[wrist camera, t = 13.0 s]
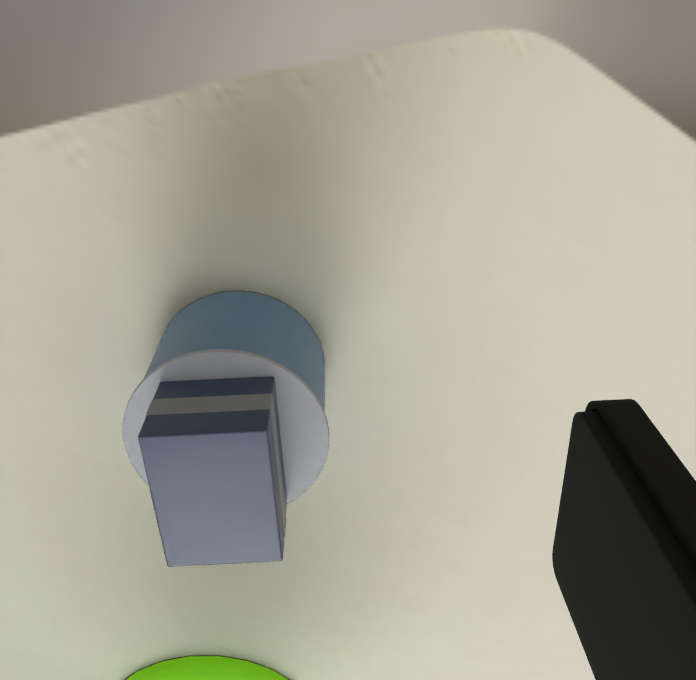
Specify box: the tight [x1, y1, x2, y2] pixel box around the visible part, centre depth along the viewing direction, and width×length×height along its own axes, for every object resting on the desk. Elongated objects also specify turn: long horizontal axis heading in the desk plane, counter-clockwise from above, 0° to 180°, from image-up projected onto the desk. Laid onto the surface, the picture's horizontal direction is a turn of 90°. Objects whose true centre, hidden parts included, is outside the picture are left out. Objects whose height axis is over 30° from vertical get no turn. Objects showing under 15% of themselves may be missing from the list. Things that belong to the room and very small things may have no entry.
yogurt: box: [123, 291, 329, 504], centre depth 34 cm, size 9×9×7 cm
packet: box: [138, 376, 287, 567], centre depth 29 cm, size 7×5×4 cm
